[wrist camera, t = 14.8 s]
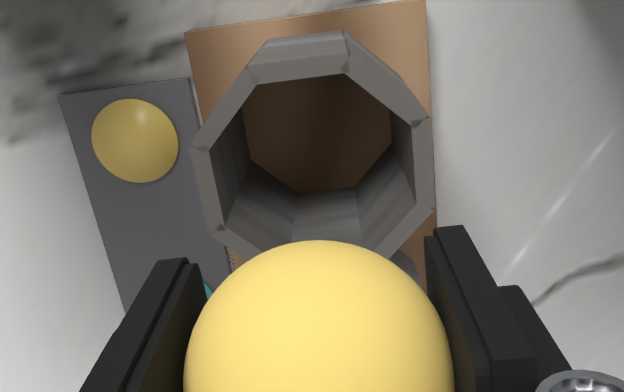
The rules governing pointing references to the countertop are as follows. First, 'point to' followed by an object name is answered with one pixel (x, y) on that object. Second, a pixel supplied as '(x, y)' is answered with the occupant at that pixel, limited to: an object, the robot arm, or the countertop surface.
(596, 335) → the countertop surface
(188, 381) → the ochre ball
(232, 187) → the double cup sorting tray
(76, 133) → the card
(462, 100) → the countertop surface
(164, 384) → the robot arm
